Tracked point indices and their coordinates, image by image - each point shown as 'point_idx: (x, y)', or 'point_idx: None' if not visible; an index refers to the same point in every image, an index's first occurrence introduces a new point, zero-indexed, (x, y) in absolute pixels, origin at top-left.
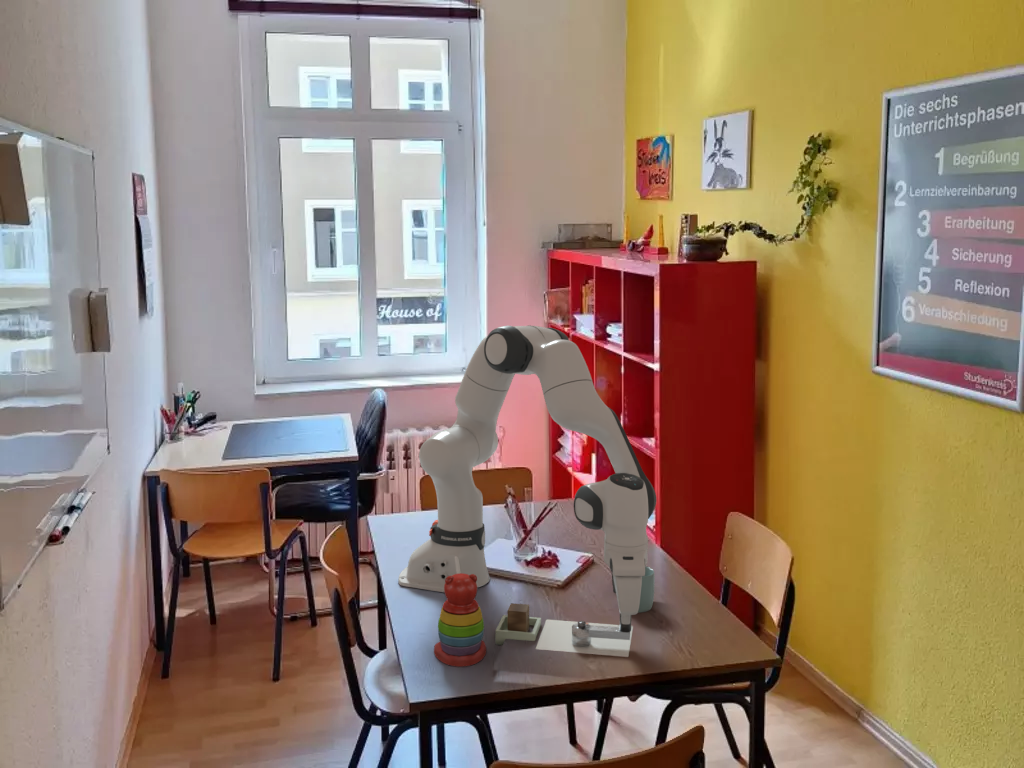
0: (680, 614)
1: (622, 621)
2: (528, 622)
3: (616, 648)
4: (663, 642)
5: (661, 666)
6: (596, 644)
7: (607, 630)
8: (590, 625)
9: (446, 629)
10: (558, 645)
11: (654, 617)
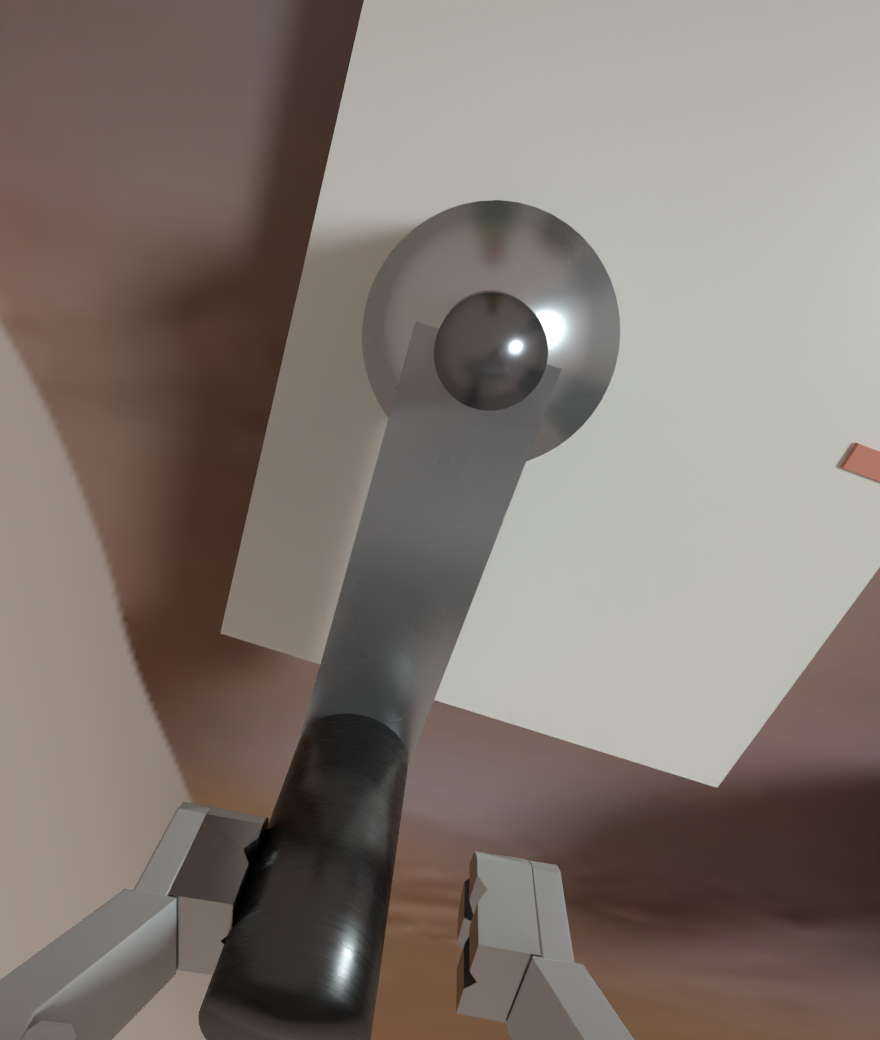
0: (846, 1011)
1: (169, 829)
2: None
3: None
4: (515, 852)
5: (206, 762)
6: None
7: (352, 610)
8: (512, 467)
9: None
10: (500, 44)
11: (872, 905)
